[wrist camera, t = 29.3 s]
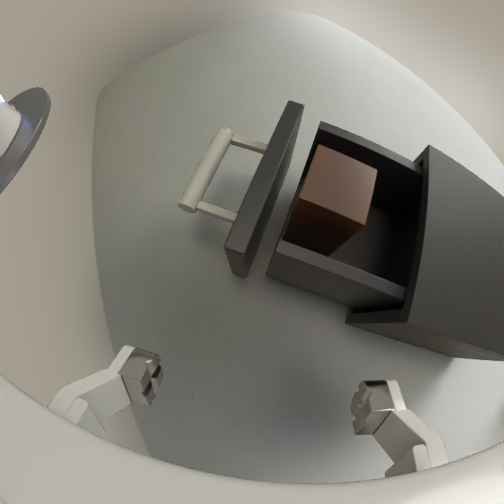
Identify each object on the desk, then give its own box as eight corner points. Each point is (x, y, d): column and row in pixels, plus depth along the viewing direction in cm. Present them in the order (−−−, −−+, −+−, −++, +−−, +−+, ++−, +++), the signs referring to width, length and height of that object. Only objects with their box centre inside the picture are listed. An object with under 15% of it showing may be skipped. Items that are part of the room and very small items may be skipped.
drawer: (181, 253, 23) (147, 218, 15) (232, 146, 25) (227, 84, 17) (378, 326, 21) (435, 325, 13) (403, 212, 24) (451, 173, 16)
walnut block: (281, 239, 22) (298, 197, 14) (297, 198, 23) (318, 143, 15) (326, 258, 22) (365, 225, 14) (339, 216, 23) (377, 169, 15)
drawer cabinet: (344, 323, 22) (407, 322, 12) (376, 199, 25) (428, 144, 15) (455, 357, 21) (523, 361, 11) (473, 250, 24) (533, 223, 14)
